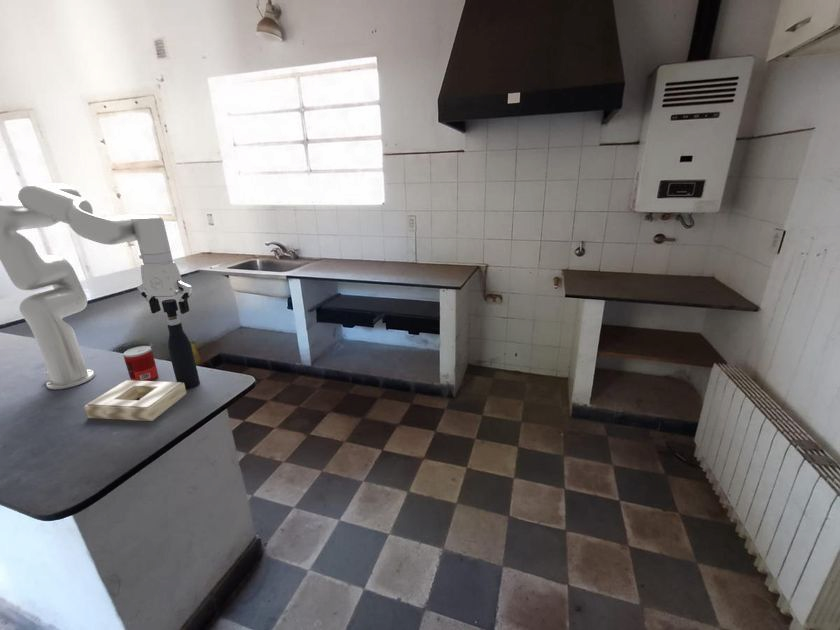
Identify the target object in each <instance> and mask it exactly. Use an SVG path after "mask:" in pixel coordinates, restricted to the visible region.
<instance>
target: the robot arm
mask: <svg viewBox="0 0 840 630" xmlns="http://www.w3.org/2000/svg"><path fill="white" fill-rule="evenodd" d="M17 196H18V198H17V199H18V200H1V201H0V262H1V264H2V266H3V268H4V270H5V272H6V273H7V275H8V278H9V280H10V281H11V283H12V284H13V285H14V286H15V287H16V288H17V289H18V290H21V291H33V290H35V291H36V290H38V289H43V288H46V287H50V286H52V287H53V289H50V290H45V291H42V292H38V293H35V294H31V295H30V296H27V297H26V298H24V299H23V300H22V301H21V302H20V304H19V311H20V314H21V316H22V318H24V320H25V321H26V323H27V325H28V327H29V328H30V331H31V332H32V334H33V336H34V338H35V341H36V343H37V346H38V349H39V351H40V354H41V357H42V359H43V361H44V365H45V367H46V369H45V371H43V372H42V375H41V376H43V377H48V381H47V382H46V385H45V386H46V387H47V389H50V390H64V389H69V388H72V387H77V386H80V385H82V384H84V383H87V382H89V381H90V380H92V379H93V378H94V377H95V370H93V369H88V368H87V365H86V361H85V359H84V356H83V354H82V353H83V352H82V350H81V348H80V345H79V342H78V339H77V335H76V333H75V331H74V329H73V327H72V326H71V325H70V324H68V323H67V322H65V321H64V320H63V318H65V317H69V316H71V315H74V314H76V313H80V312H82V311H83V310H84V309H86V307H87V305H88V298H87V297H88V296H87V295H86V293H85V290H84V288H83V286H82V284H81V282H80V279H79V278H78V275H77V273H76V271H75V269H74V267H73V266H72V264H71V263H70V262H69V261H68V260H67V259H66V258H64V257H62V256H60V255H57V254H56V255H55V254H54V255H53V254H47V255H43V256H41V255H39V253H38V252H37V249H36V248H35V246H34V244H33V243H32V242H31V241H30V240H29V239H28V238H27V237H26V236H24V235H23V234H21V233H19V232H18V231H21V230H32V229H40V228H47V227H51V226H54V225H56V224H58V223H59V222H60V223H64V224H68V225H69V227H70V228H71V230H73V232H75V234H77V235H78V236H79V237H81V238H84V239H86V240H88V241H92V242H95V243H98V244H102V245H107V246H108V245H109V246H110V245H111V246H114V245H119V244H124V243H125V244H126V243H129V242H136V241H137V244H138V245H137V246H138V248H139V249H138V250H139V253H140V254H139V259H141V260H142V263H141V264H140V275H141V276H140V277H141V281H142V282H141V284H140V285H138V286H137V287H136V289H137V290H138V292H140V294H141V296H142V297H144V298H145V301H146V302H148V304H149V307H150V312H151V314H155V313H158V312H160V311H161V310H162V309H161V305H160V302H159V299H158V298H160V297H162V298H164V297H165V298H166V297H167V298H169V297H170V298H171V297H176V300H177V299H178V302H177V305H178V309H179V311H180V314H181V315H184V314H186V313H188V312H190V305H189V302H188V300H189V299H190V296H191V295H192V291H193V286H192V285H190V284H188V283H185V282H183V279H182V276H181V272H180V270H179V268H178V266H177V263H176V262H175V261H174V260H173V255H172V252H171V251H172V250H171V246H170V242H169V238H168V234H167V230H166V225H165V222H164V221H165V220H164V219H163V217H161V216H158V215H142V216H141V215H137V214H125V215H115V216H106V217H103V216H102V217H101V216H98V215H95V214H93V213H94V211H93V207H92V205H91V203H90V202H89V201H88V200H86V199H85V198H82V195H81V194H80V192H79V191H78V190H77V189H76V188H74V187H73V186H70V184H69V185H68V184H65V183H31V184H28V185H25V186H23V187H22V188H21V189H20V190H19V191H18V195H17ZM157 297H158V298H157Z"/></svg>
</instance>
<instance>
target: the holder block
mask: <svg viewBox="0 0 840 630" xmlns="http://www.w3.org/2000/svg"><path fill="white" fill-rule="evenodd" d="M187 394H188V393H187V390H186V389H185V385H184V383H181V382H177V381H159V380H158V381H157V380H156V381H155V380H153V381H135V380H131V379H130V380H129V379H127V380H124V381H123V382H121V383H119V384H117V385H116V386H114V387H113V388H111V389H110V390H108V391H106V392H104V393H103V394H101V395H100V396H98V397H97V398H95V399H93V400H91V401H90V402H88V403H87V404H85V405H84V409H85V412H86V415H87V417H88V419H100V420H101V419H104V420H105V419H106V420H122V421H123V420H125V421H126V420H127V421H146V422H153V421H154V420H156V419H157V418H158V417H159V416H160V415H162V414H163V413H165V412H166V411H167V410H168V409H170V407H172V406H173V405H174V404H176V403H177V402H178V401H179V400H181V399H182V398H183V397H185V396H186V395H187ZM138 398H139V400H138Z"/></svg>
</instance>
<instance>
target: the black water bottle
mask: <svg viewBox="0 0 840 630" xmlns="http://www.w3.org/2000/svg"><path fill="white" fill-rule="evenodd" d="M161 306H162V309H163V312H164V313H166V315H167V329H168V333H169V334H168V340H167V351H168V353H169V357H170V360H171V361H170V362H171V364H172V369H173V373H174V377H175V382H181V383H184V385H185V389H186V391H188V390H189V391H190V390H193V389H195V388H197V387H198V386H200V384H201V382H200V378H199V377H200V376H199V372H198V368H197V364H196V360H195V356H194V351H193V350H194V349H193V347H192V343H191V341H190V339H189V337H188V336H187V334H186V333H185V331H184V329H183V325H182V322H181V321H180V318H179V317H178V314H177V311H179V305H178V302H177V299H174V298H171V299H170V298H169V299H165V300H162V301H161Z"/></svg>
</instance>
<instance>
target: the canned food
mask: <svg viewBox="0 0 840 630" xmlns="http://www.w3.org/2000/svg"><path fill="white" fill-rule="evenodd" d="M122 354H123V355H122V356H123V359H124V362H125V363H124V364H125V365H126V369H127V372H128V376H129V379H130V380H135V381H155V380H156V379H157V378H158V377H159V372H158V368H157V365H156V361H155V356H154V353H153V349H152V347H151V346H149V345H141V346H136V347H135V346H134V347H132V348H129V349H127V350H126V351H124V352H123V353H122Z"/></svg>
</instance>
